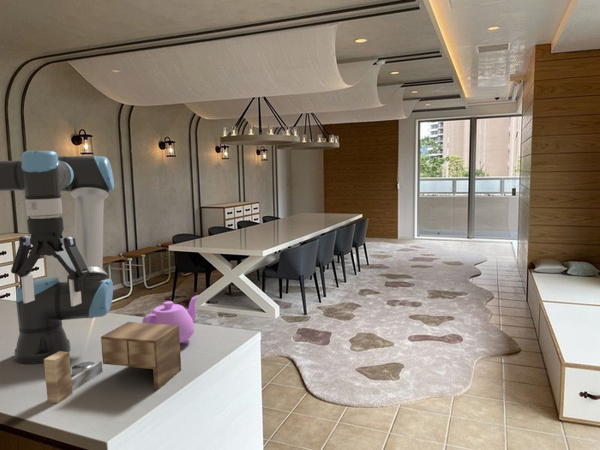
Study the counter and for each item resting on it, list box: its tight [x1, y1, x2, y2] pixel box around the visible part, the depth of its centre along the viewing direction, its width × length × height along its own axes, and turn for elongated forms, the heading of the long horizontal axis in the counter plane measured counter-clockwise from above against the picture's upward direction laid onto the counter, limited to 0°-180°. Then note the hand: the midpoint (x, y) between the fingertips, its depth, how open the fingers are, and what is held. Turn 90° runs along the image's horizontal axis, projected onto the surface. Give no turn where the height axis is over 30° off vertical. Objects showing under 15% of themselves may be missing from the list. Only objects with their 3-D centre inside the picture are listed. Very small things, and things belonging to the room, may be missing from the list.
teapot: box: [141, 294, 199, 345], centre depth 152 cm, size 22×16×14 cm
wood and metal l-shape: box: [43, 351, 103, 404], centre depth 122 cm, size 18×3×11 cm, turn 166°
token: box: [71, 361, 96, 378], centre depth 130 cm, size 6×6×2 cm
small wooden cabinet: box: [100, 321, 182, 391], centre depth 127 cm, size 16×12×13 cm
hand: (52, 303), depth 114 cm, fingers open, 13 cm apart
